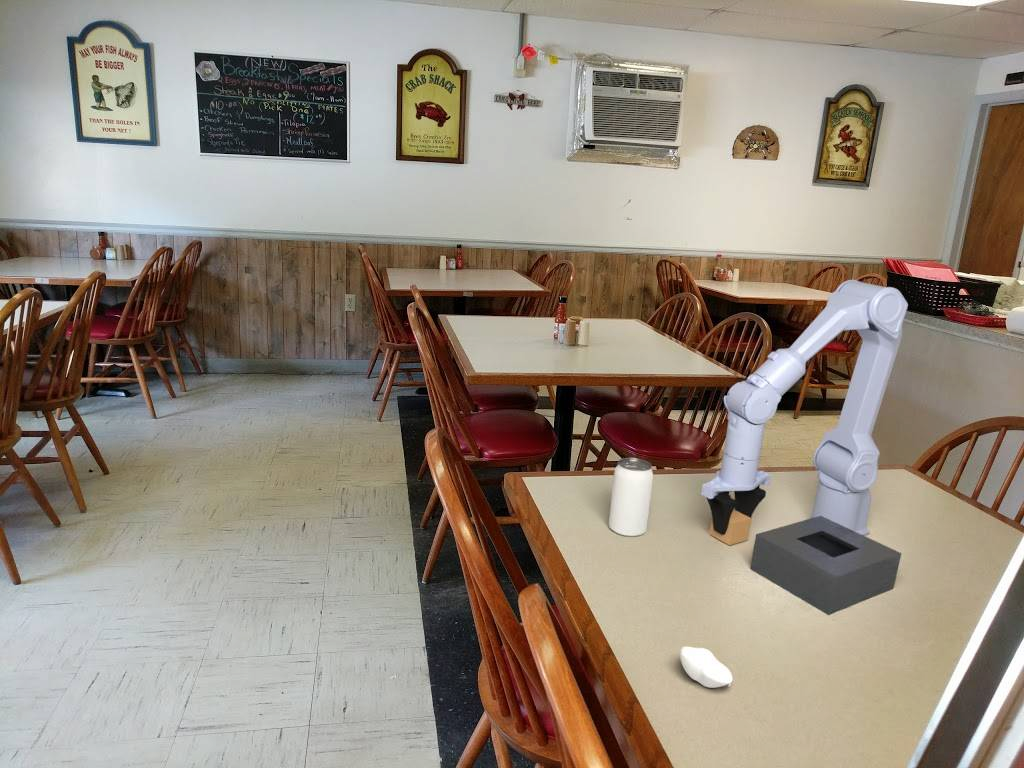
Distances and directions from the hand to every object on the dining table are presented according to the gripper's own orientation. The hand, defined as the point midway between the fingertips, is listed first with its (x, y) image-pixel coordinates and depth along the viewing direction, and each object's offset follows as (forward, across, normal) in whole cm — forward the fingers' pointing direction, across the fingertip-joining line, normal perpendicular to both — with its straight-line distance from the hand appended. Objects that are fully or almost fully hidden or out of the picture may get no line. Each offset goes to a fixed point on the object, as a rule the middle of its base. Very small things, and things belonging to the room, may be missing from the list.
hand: (729, 529), depth 123 cm
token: (+1, 0, 0) cm, 1 cm away
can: (+2, +14, -10) cm, 17 cm away
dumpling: (+2, +32, +25) cm, 41 cm away
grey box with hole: (+2, -3, +16) cm, 16 cm away
